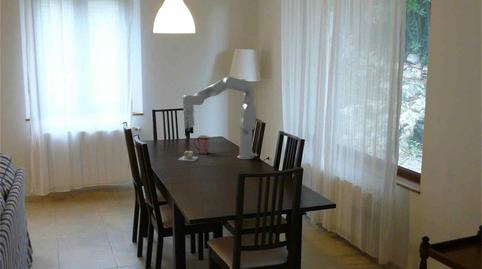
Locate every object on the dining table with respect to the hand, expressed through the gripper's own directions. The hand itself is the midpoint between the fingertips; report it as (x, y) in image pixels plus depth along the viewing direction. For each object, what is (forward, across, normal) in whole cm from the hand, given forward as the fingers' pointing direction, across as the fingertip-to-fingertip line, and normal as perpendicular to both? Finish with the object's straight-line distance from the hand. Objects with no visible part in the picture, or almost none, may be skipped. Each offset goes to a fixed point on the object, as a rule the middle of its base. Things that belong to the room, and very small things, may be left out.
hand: (189, 134), depth 388 cm
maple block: (+18, 0, +1) cm, 18 cm away
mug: (+20, +22, -2) cm, 30 cm away
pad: (+19, 0, +1) cm, 19 cm away
